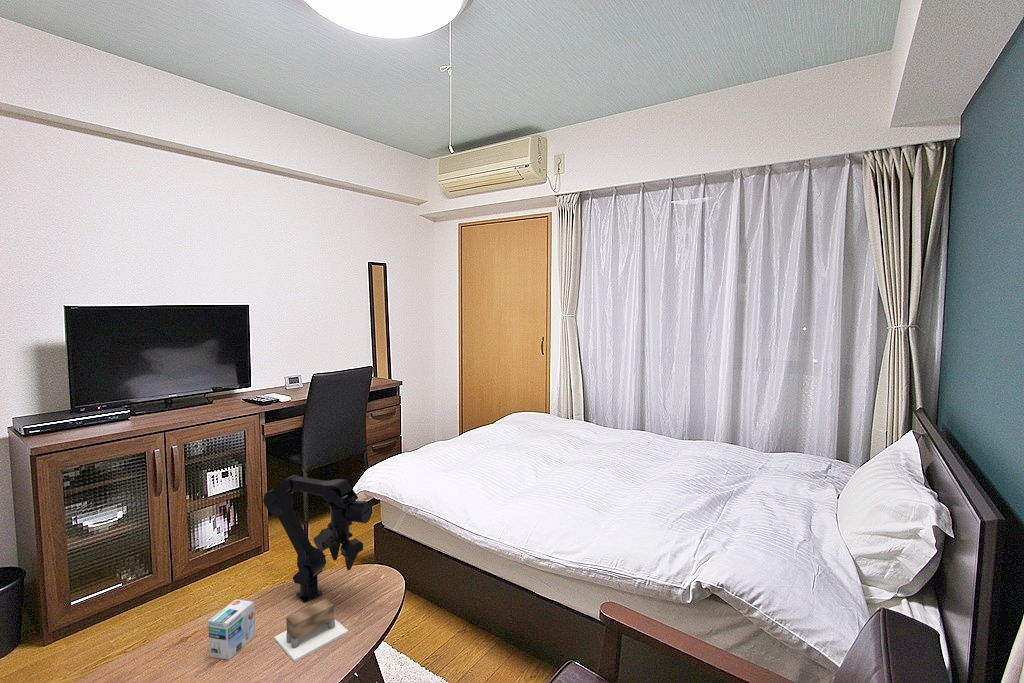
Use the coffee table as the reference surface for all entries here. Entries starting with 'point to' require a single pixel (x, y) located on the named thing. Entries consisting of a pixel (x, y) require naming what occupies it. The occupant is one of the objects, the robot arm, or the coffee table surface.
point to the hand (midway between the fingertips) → (341, 565)
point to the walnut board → (310, 618)
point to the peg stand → (310, 640)
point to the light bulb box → (231, 629)
